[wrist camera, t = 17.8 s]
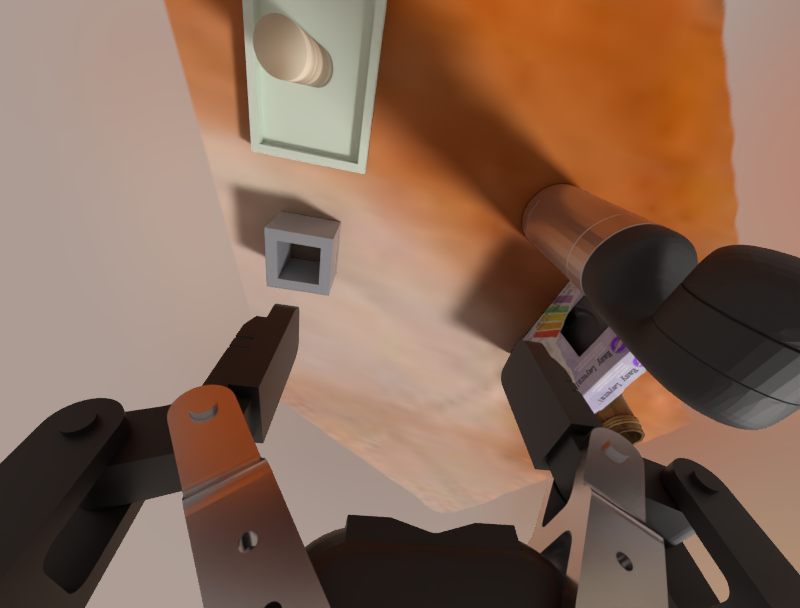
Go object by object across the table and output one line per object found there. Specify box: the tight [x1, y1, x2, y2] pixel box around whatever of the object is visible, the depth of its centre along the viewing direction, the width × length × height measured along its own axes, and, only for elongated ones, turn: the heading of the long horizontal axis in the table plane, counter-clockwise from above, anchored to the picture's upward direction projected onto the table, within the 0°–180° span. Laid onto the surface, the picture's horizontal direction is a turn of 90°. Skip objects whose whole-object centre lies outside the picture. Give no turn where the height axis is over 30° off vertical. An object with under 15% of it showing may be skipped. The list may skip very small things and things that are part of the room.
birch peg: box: [253, 13, 333, 88], centre depth 29 cm, size 4×4×13 cm
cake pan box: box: [522, 281, 646, 414], centre depth 49 cm, size 19×5×18 cm, turn 156°
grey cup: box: [264, 211, 341, 296], centre depth 44 cm, size 9×9×7 cm
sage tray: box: [242, 0, 387, 174], centre depth 34 cm, size 14×20×2 cm
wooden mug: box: [595, 394, 645, 445], centre depth 60 cm, size 9×14×18 cm, turn 96°
